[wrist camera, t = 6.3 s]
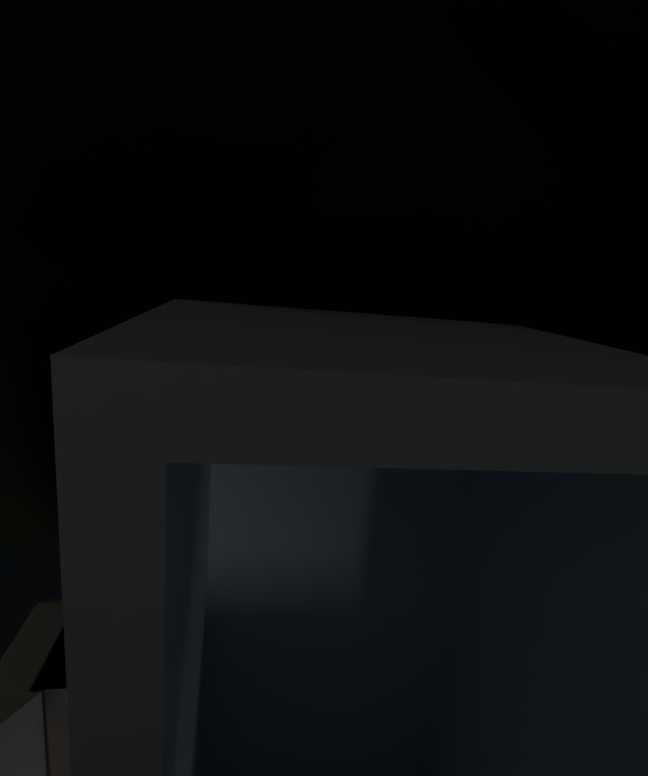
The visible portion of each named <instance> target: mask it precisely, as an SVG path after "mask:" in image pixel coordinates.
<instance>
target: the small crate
mask: <svg viewBox="0 0 648 776" xmlns="http://www.w3.org/2000/svg"><path fill="white" fill-rule="evenodd" d="M50 360H51V380H52V400H53V421H54V441H55V461H56V482H57V502H58V522H59V543H60V563H61V583H62V604H63V624H64V644H65V665H66V685H67V705H68V726H69V746H70V766H71V776H648V356H647V355H643V354H639V353H634V352H630V351H626V350H622V349H617V348H613V347H609V346H605V345H600V344H596V343H592V342H588V341H583V340H579V339H575V338H570V337H566V336H562V335H558V334H553V333H549V332H545V331H541V330H536V329H532V328H528V327H523V326H519V325H511V324H498V323H485V322H472V321H459V320H446V319H433V318H420V317H407V316H394V315H381V314H368V313H355V312H342V311H329V310H316V309H303V308H290V307H277V306H264V305H251V304H238V303H225V302H212V301H199V300H186V299H174V300H171V301H169V302H167V303H165V304H163V305H160V306H158V307H156V308H154V309H152V310H149V311H147V312H145V313H143V314H140V315H138V316H136V317H134V318H132V319H129V320H127V321H125V322H123V323H121V324H118V325H116V326H114V327H112V328H110V329H107V330H105V331H103V332H101V333H99V334H96V335H94V336H92V337H90V338H88V339H85V340H83V341H81V342H79V343H77V344H74V345H72V346H70V347H68V348H66V349H63V350H61V351H59V352H57V353H55V354H52V355H50Z"/></svg>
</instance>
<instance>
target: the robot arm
mask: <svg viewBox="0 0 648 776" xmlns="http://www.w3.org/2000/svg"><path fill="white" fill-rule="evenodd" d="M0 776H71V766H70V746H69V726H68V705H67V685H66V665H65V644H64V624H63V604H62V599H44V600H43V601H41V602H39V603H38V604H37V605H36V606H35V607H34V608H33V610H32V611H31V613H30V615H29V616H28V618H27V619H26V621H25V622H24V624H23V626H22V627H21V629H20V630H19V632H18V633H17V635H16V636H15V638H14V640H13V641H12V643H11V644H10V646H9V647H8V649H7V650H6V652H5V654H4V655H3V657H2V658H1V660H0Z"/></svg>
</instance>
